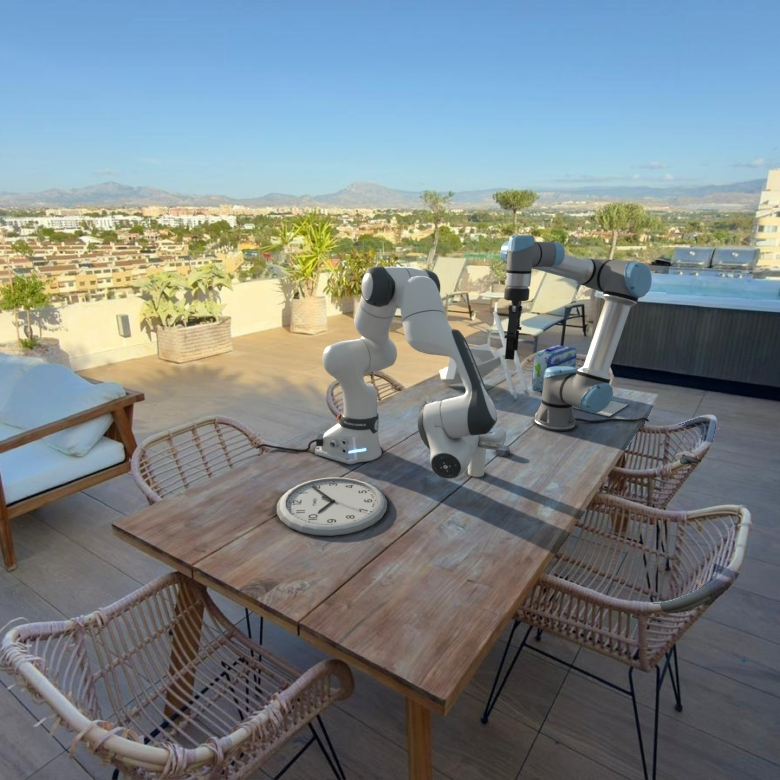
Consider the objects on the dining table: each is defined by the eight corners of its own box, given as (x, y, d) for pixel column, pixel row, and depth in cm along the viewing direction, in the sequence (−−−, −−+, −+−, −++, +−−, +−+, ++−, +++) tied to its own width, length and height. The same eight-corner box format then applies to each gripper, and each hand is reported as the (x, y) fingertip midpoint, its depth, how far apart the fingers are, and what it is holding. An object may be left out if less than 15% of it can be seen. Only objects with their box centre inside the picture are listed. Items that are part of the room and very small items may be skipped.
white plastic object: (461, 429, 252) (437, 405, 227) (444, 352, 274) (420, 323, 250) (535, 404, 240) (518, 377, 215) (510, 326, 262) (492, 293, 237)
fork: (418, 410, 217) (418, 406, 217) (428, 399, 232) (428, 395, 231) (424, 411, 216) (424, 406, 216) (434, 400, 231) (434, 395, 230)
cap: (510, 456, 175) (510, 450, 175) (496, 456, 176) (496, 450, 175) (508, 451, 180) (509, 445, 179) (494, 450, 180) (495, 444, 179)
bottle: (479, 478, 160) (484, 410, 153) (464, 474, 162) (469, 407, 156) (486, 472, 163) (492, 406, 157) (472, 468, 166) (477, 403, 160)
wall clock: (392, 527, 129) (268, 531, 127) (391, 533, 130) (269, 537, 127) (383, 473, 158) (282, 475, 155) (383, 478, 158) (282, 480, 156)
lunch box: (548, 398, 236) (553, 353, 229) (527, 393, 243) (531, 349, 237) (575, 387, 253) (581, 344, 247) (555, 382, 260) (560, 341, 254)
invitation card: (608, 416, 214) (573, 407, 224) (608, 416, 214) (573, 408, 224) (628, 404, 229) (594, 396, 238) (628, 405, 229) (594, 397, 238)
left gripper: (503, 436, 129) (511, 418, 142) (424, 424, 136) (438, 408, 149) (501, 459, 131) (509, 440, 144) (423, 447, 138) (437, 429, 151)
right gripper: (508, 282, 173) (503, 345, 180) (500, 290, 151) (495, 362, 157) (531, 283, 171) (525, 347, 178) (527, 292, 148) (520, 364, 155)
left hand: (472, 423), depth 146 cm, fingers open, 8 cm apart
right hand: (511, 354), depth 167 cm, fingers open, 13 cm apart
